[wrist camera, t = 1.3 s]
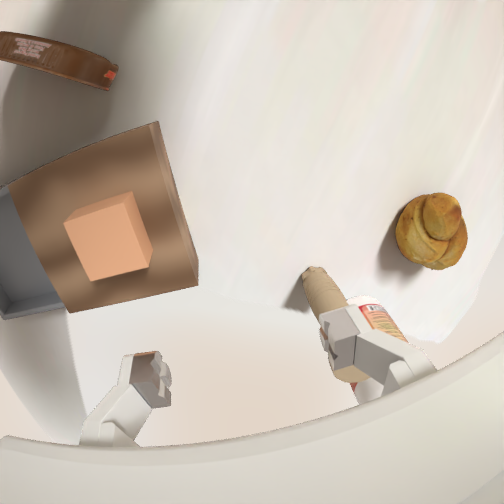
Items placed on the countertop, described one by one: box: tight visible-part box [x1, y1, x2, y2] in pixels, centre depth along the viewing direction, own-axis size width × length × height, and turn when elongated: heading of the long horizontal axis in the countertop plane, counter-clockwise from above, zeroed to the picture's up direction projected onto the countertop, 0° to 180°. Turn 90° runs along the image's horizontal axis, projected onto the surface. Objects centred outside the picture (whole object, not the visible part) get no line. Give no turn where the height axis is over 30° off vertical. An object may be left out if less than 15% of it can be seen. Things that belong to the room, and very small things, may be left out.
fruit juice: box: [346, 295, 408, 405], centre depth 30 cm, size 9×9×28 cm
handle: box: [302, 266, 370, 383], centre depth 31 cm, size 5×6×15 cm
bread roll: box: [395, 193, 468, 270], centre depth 33 cm, size 13×10×8 cm
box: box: [0, 175, 65, 320], centre depth 27 cm, size 16×14×4 cm
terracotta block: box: [63, 191, 153, 281], centre depth 24 cm, size 6×6×3 cm
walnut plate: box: [8, 121, 198, 313], centre depth 27 cm, size 16×16×5 cm
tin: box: [0, 31, 118, 91], centre depth 17 cm, size 15×3×8 cm, turn 61°
